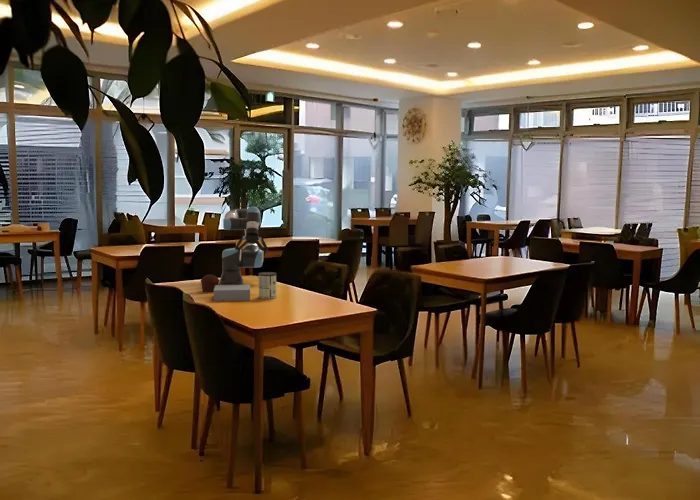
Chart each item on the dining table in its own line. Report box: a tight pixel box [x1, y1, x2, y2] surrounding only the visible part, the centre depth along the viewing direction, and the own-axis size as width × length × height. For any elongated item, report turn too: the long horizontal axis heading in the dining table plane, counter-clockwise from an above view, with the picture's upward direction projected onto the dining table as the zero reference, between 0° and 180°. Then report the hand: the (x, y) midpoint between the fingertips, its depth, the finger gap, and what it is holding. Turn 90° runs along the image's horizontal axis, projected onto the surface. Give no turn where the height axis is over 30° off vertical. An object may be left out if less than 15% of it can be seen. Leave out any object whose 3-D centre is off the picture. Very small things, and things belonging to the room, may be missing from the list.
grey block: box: [213, 284, 251, 302], centre depth 381 cm, size 20×20×6 cm
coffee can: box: [258, 271, 277, 300], centre depth 384 cm, size 10×10×14 cm
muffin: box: [200, 274, 220, 293], centre depth 404 cm, size 12×11×10 cm
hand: (251, 260), depth 407 cm, fingers open, 13 cm apart
